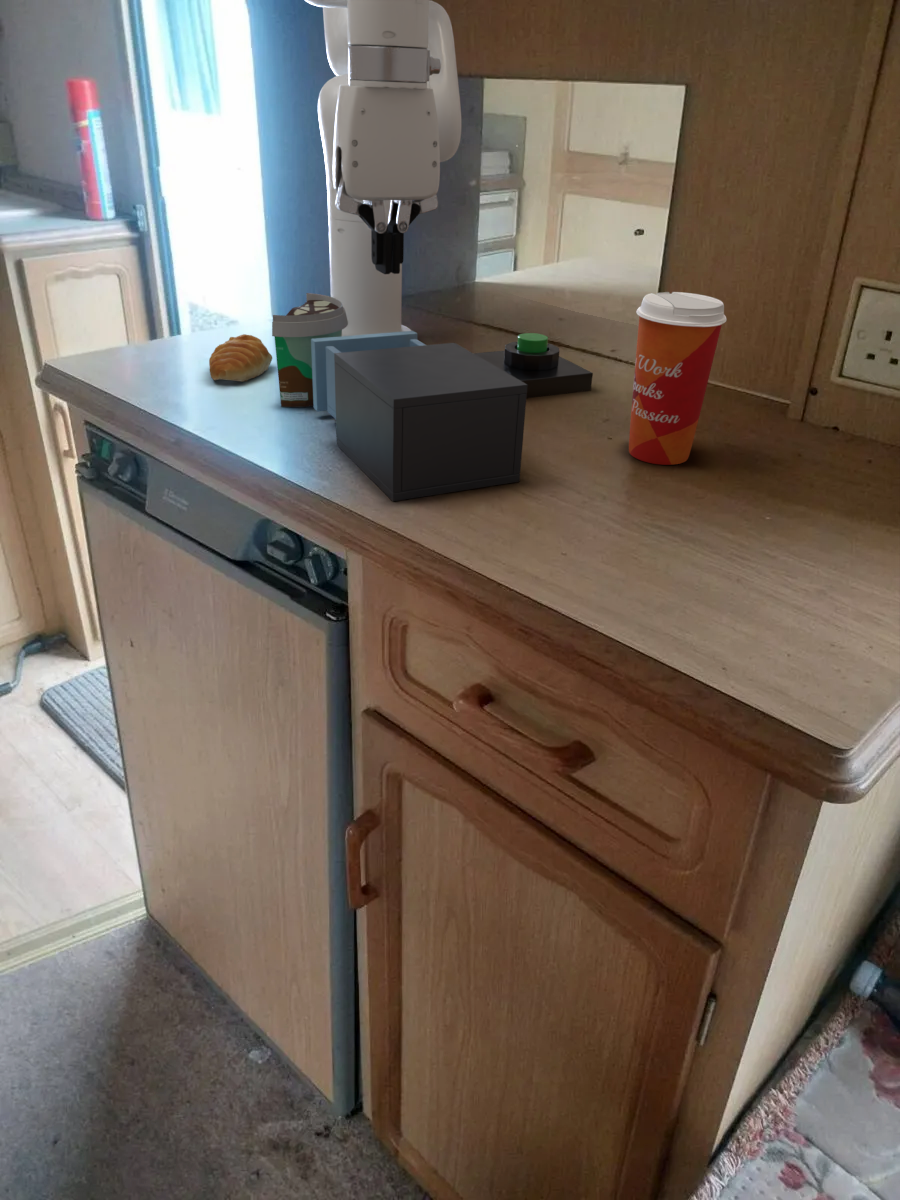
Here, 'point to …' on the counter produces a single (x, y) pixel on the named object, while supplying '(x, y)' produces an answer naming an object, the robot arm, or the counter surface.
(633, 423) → the coffee cup
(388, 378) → the dark grey box
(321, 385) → the blue drawer
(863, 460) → the counter surface
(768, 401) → the counter surface
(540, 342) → the button
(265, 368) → the pastry
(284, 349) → the food container
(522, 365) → the block
